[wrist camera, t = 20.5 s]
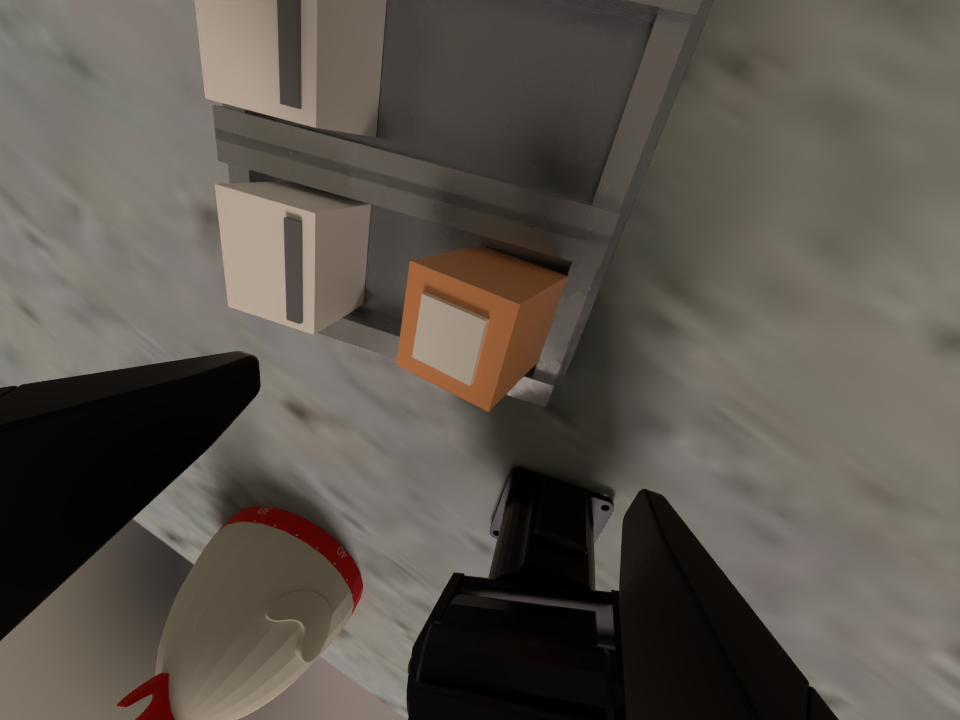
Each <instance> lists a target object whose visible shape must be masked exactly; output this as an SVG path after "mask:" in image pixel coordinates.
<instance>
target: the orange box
mask: <svg viewBox="0 0 960 720" xmlns="http://www.w3.org/2000/svg"><path fill="white" fill-rule="evenodd" d="M567 277H568V276H566V275H563V274H560V273H558V272H555V271H552V270H549V269H546V268H543V267H541V266H538V265H535V264H532V263H529V262H527V261H524V260H521V259H518V258H515V257H513V256H510V255H507V254H504V253H501V252H499V251H496V250H493V249H490V248H487V247H484V246H482V245H481V246H476V247H472V248H467V249H462V250H458V251H453V252H448V253H443V254H439V255H434V256H429V257H425V258H420V259H415V260H411V261H410V264H409V272H408V279H407V287H406V295H405V302H404V310H403V317H402V325H401V332H400V340H399V348H398V355H397V363H396V365H398V366H400V367H402V368H404V369H406V370H408V371H410V372H411V373H413V374H415V375H417V376H419V377H421V378H423V379H425V380H427V381H429V382H431V383H433V384H435V385H437V386H439V387H441V388H442V389H444V390H446V391H448V392H450V393H452V394H454V395H456V396H458V397H460V398H462V399H464V400H466V401H468V402H470V403H472V404H474V405H475V406H477V407H479V408H481V409H483V410H485V411H487V412H489V411H490V410H491V409H492V408H493V407H494V406H495V405H496V404H497V403H498V402H499V401H500V400H501V399H502V398H503V397H504V396H505V395H506V394H507V393H508V392H509V391H510V390H511V389H512V388H513V387H514V386H515V385H516V384H517V383H518V382H519V381H520V380H521V379H522V378H523V377H524V376H525V375H526V374H527V373H528V372H529V371H530V370H531V369H532V368H533V366H534V365H535V364H536V363H537V362H538V361H539V358H540V356H541V353H542V350H543V347H544V344H545V341H546V338H547V335H548V332H549V329H550V327H551V324H552V321H553V318H554V315H555V312H556V309H557V306H558V303H559V300H560V298H561V295H562V292H563V289H564V286H565V283H566V280H567Z"/></svg>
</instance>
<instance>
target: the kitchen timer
mask: <svg viewBox="0 0 960 720" xmlns="http://www.w3.org/2000/svg"><path fill="white" fill-rule="evenodd" d="M362 589H363V583H362V579H361V574H360V571H359V569H358V568H357V566H356V564H355V562H354V561H353V559H352V557H351V556H350V555H349V554H348V553H347V551H346V550H345V549H344V548H343V547H342V546H341V545H340V544H339V543H338V542H337V541H336V540H335V539H334V538H333V537H331V536H330V535H329V534H327V533H326V532H325V531H323V530H322V529H321V528H320V527H318V526H316V525H315V524H313V523H311V522H309V521H307V520H305V519H303V518H301V517H300V516H298V515H295V514H292V513H289V512H286V511H283V510H279V509H276V508H267V507H253V508H248V509H243V510H241V511H240V512H239V513H237V514H236V515H234V516H233V517H232V518H231V519H230V520H229V521H228V522H227V523H226V524H225V525H224V526H223V527H222V528H221V529H220V530H219V531H218V532H217V533H216V534H215V535H214V537H213V538H212V539H211V540H210V542H209V543H208V544H207V546H206V547H205V549H204V550H203V552H202V553H201V555H200V556H199V558H198V560H197V561H196V563H195V565H194V566H193V568H192V570H191V571H190V573H189V575H188V577H187V578H186V580H185V582H184V584H183V585H182V587H181V589H180V591H179V593H178V595H177V597H176V599H175V601H174V603H173V605H172V608H171V611H170V614H169V616H168V619H167V622H166V625H165V628H164V631H163V634H162V638H161V641H160V646H159V650H158V656H157V663H156V676H155V677H153V678H151V679H150V680H148V681H147V682H145V683H143V684H142V685H141V686H139V687H138V688H136V689H135V690H134V691H132V692H131V693H130V694H128V695H127V696H126V697H125V698H123V699H122V700H121V701H120V702H119V703H118V704H117V706H121V707H127V706H130V705H131V704H133V703H135V702H137V701H139V700H140V699H142V698H144V697H146V696H148V695H150V694H152V696H153V699H152V701H151V703H150V705H149V706H148V707H147V708H146V710H145V711H144V712H143V713H142V714H141V715H140V716H139V717H138V718H137V719H135V720H237V719H240V718H242V717H244V716H246V715H248V714H250V713H251V712H253V711H255V710H257V709H259V708H260V707H262V706H263V705H265V704H266V703H268V702H269V701H271V700H272V699H274V698H275V697H276V696H278V695H279V694H280V693H282V692H283V691H284V690H285V689H286V688H288V687H289V686H290V685H291V684H292V683H293V682H294V681H295V680H296V679H298V678H299V677H300V676H301V675H302V674H303V673H304V671H306V670H307V669H308V667H309V666H310V665H311V664H312V663H313V662H314V661H315V660H316V659H317V657H319V656H320V654H321V653H322V652H323V651H324V650H325V649H326V648H327V647H328V646H329V644H330V643H331V642H332V641H333V640H334V639H335V638H336V636H337V635H338V634H339V633H340V631H341V630H342V629H343V627H344V626H345V625H346V623H347V622H348V620H349V618H350V617H351V615H352V613H353V611H354V609H355V608H356V606H357V604H358V602H359V600H360V598H361V594H362Z"/></svg>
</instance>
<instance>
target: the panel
mask: <svg viewBox="0 0 960 720" xmlns="http://www.w3.org/2000/svg"><path fill="white" fill-rule="evenodd" d="M713 1H714V0H387V2H386V15H385V28H384V41H383V54H382V67H381V80H380V93H379V106H378V119H377V132H376V137H370V136H364V135H358V134H351V133H345V132H339V131H332V130H326V129H320V128H314V127H311V126H307V125H303V124H299V123H296V122H292V121H288V120H284V119H280V118H277V117H273V116H269V115H265V114H262V113H258V112H254V111H250V110H247V109H243V108H239V107H235V106H231V105H228V104H224V103H223V107H222V106H216V105H213V114H214V124H215V134H216V144H217V153H218V161H221V162H224V163H228V167H229V178H230V183H255V182H281V181H291V182H294V183H298V184H301V185H305V186H308V187H312V188H315V189H319V190H322V191H326V192H329V193H333V194H336V195H340V196H343V197H347V198H351V199H354V200H358V201H361V202H365V203H368V204H371V211H370V224H369V237H368V250H367V263H366V276H365V289H364V302H363V305H362V306H360V307H359V308H357V309H355V310H354V311H352V312H351V313H349V314H347V315H346V316H344V317H342V318H341V319H339V320H338V321H336V322H334V323H333V324H331V325H329V326H328V327H326V328H324V329H323V330H321V331H320V332H318V333H320V334H323V335H326V336H329V337H332V338H335V339H338V340H341V341H344V342H347V343H350V344H353V345H356V346H359V347H362V348H365V349H368V350H371V351H374V352H378V353H381V354H384V355H387V356H390V357H393V358H396V359H397V355H398V348H399V340H400V332H401V325H402V317H403V310H404V302H405V295H406V287H407V279H408V272H409V264H410V261H411V260H415V259H420V258H425V257H429V256H434V255H439V254H443V253H448V252H453V251H458V250H462V249H467V248H472V247H476V246H481V245H482V246H484V247H487V248H490V249H493V250H496V251H499V252H501V253H504V254H507V255H510V256H513V257H515V258H518V259H521V260H524V261H527V262H529V263H532V264H535V265H538V266H541V267H543V268H546V269H549V270H552V271H555V272H558V273H560V274H563V275H566V276H568V277H567V280H566V283H565V286H564V289H563V292H562V295H561V298H560V300H559V303H558V306H557V309H556V312H555V315H554V318H553V321H552V324H551V327H550V329H549V332H548V335H547V338H546V341H545V344H544V347H543V350H542V353H541V356H540V358H539V361H538V362H537V363H536V364H535V365H534V366H533V368H532V369H531V370H530V371H529V372H528V373H527V374H526V375H525V376H524V377H523V378H522V379H521V380H520V381H519V382H518V383H517V384H516V385H515V386H514V387H513V388H512V389H511V390H510V391H509V392H508V393H507V394H506V395H509V396H512V397H515V398H518V399H521V400H524V401H527V402H530V403H533V404H536V405H539V406H542V407H545V408H546V406H547V403H548V401H549V398H550V396H551V394H553V395H556V396H558V394H559V391H560V389H561V386H562V384H563V381H564V379H565V376H566V373H567V371H568V368H569V366H570V363H571V361H572V358H573V356H574V353H575V351H576V348H577V346H578V343H579V341H580V338H581V335H582V333H583V330H584V328H585V325H586V323H587V320H588V318H589V315H590V313H591V310H592V308H593V305H594V303H595V300H596V297H597V295H598V292H599V290H600V287H601V285H602V282H603V280H604V277H605V275H606V272H607V270H608V267H609V264H610V262H611V259H612V257H613V254H614V252H615V249H616V247H617V244H618V242H619V239H620V237H621V234H622V232H623V229H624V226H625V224H626V221H627V219H628V216H629V214H630V211H631V209H632V206H633V204H634V201H635V199H636V196H637V194H638V191H639V188H640V186H641V183H642V181H643V178H644V176H645V173H646V171H647V168H648V166H649V163H650V161H651V158H652V156H653V153H654V150H655V148H656V145H657V143H658V140H659V138H660V135H661V133H662V130H663V128H664V125H665V123H666V120H667V117H668V115H669V112H670V110H671V107H672V105H673V102H674V100H675V97H676V95H677V92H678V90H679V87H680V85H681V82H682V79H683V77H684V74H685V72H686V69H687V67H688V64H689V62H690V59H691V57H692V54H693V52H694V49H695V47H696V44H697V41H698V39H699V36H700V34H701V31H702V29H703V26H704V24H705V21H706V19H707V16H708V14H709V11H710V8H711V6H712V3H713Z"/></svg>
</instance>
